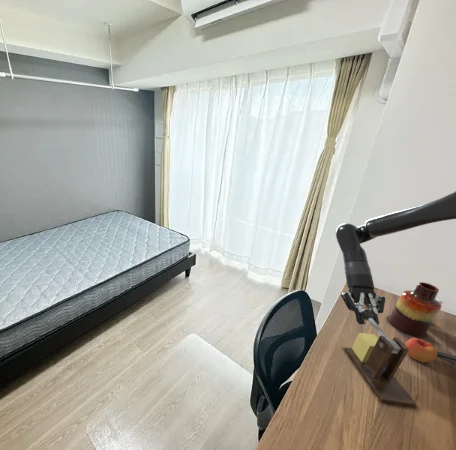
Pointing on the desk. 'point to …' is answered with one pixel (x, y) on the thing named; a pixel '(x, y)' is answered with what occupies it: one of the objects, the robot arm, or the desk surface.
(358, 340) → the butter
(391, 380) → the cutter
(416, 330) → the vase
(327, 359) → the desk surface
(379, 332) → the ball knob lever
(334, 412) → the desk surface
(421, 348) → the apple
